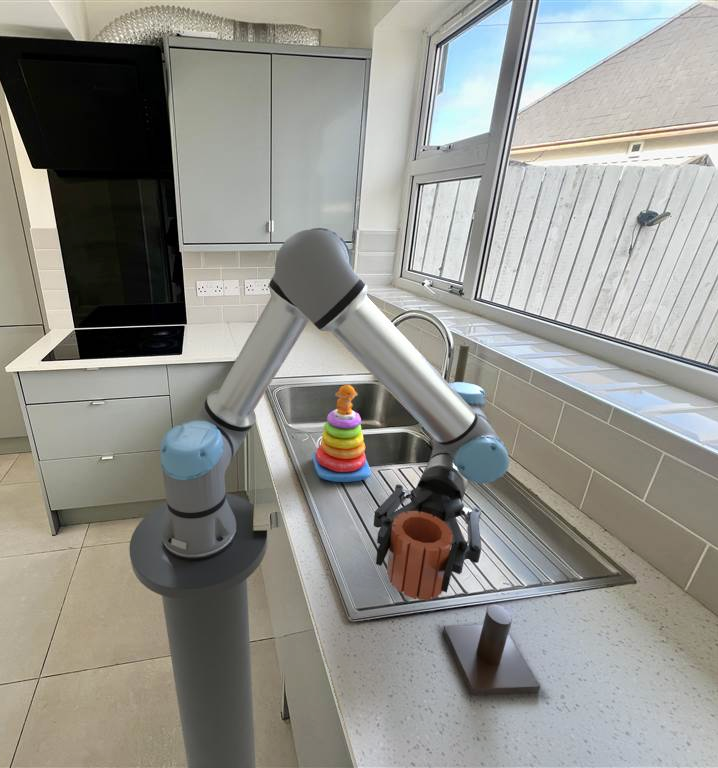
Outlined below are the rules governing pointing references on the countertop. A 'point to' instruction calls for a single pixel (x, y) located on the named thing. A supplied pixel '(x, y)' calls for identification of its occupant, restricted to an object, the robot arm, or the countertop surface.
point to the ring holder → (490, 656)
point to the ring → (418, 554)
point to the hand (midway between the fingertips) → (411, 570)
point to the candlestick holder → (460, 367)
